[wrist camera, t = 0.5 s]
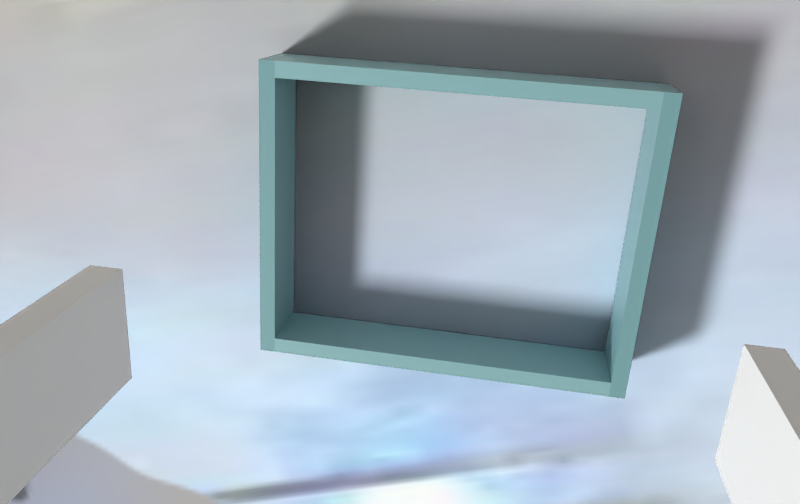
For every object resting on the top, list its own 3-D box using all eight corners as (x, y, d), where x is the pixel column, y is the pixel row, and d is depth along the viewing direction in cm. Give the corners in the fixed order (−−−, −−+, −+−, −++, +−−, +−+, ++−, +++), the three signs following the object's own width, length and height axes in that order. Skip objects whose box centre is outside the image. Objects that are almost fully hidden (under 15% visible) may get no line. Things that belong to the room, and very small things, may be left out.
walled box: (281, 53, 38) (258, 59, 35) (669, 84, 36) (683, 93, 33) (280, 322, 44) (260, 349, 41) (617, 366, 41) (624, 398, 38)
